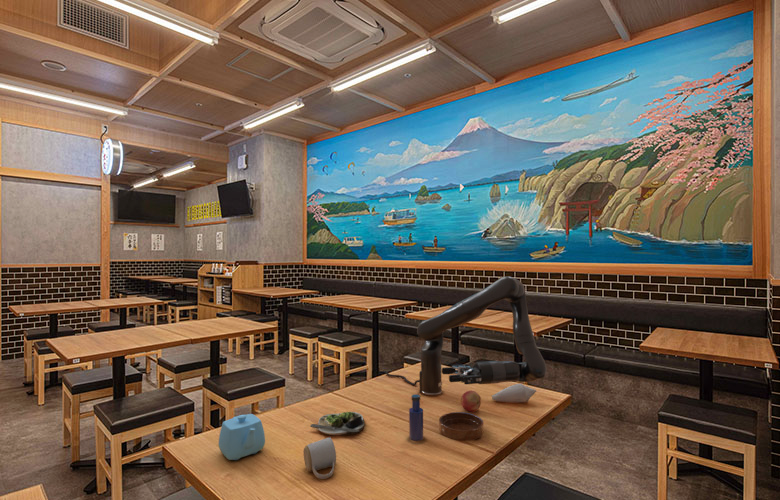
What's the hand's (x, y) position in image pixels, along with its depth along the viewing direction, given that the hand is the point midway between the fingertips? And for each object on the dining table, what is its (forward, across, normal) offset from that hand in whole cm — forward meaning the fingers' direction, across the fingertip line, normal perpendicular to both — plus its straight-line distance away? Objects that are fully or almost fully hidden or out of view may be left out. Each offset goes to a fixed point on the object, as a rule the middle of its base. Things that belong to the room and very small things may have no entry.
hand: (445, 374), depth 132 cm
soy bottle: (+11, +2, +21) cm, 24 cm away
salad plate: (+35, -13, +21) cm, 43 cm away
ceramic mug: (+42, +15, +21) cm, 49 cm away
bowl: (-6, -1, +21) cm, 22 cm away
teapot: (+67, +1, +21) cm, 70 cm away
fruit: (-16, -17, +21) cm, 31 cm away
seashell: (-37, -24, +21) cm, 48 cm away
